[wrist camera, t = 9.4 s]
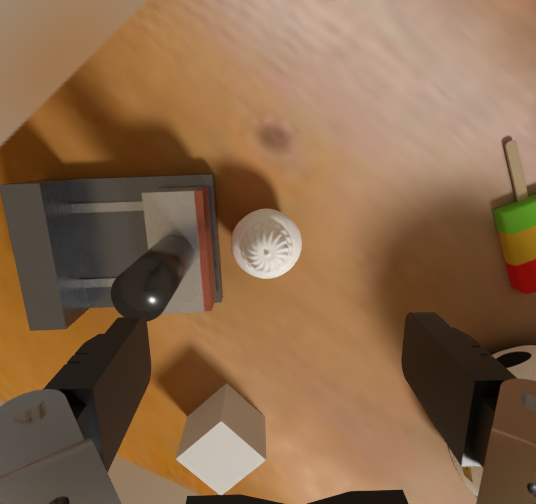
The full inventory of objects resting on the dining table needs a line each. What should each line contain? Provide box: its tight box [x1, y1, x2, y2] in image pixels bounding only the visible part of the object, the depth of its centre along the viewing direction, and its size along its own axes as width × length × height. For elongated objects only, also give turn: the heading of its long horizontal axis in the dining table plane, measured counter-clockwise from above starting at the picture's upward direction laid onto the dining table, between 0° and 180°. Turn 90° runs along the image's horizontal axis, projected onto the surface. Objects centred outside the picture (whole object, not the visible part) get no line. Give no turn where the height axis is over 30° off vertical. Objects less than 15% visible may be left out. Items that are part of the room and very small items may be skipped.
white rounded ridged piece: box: [231, 209, 302, 279], centre depth 32 cm, size 6×6×7 cm
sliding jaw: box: [111, 187, 216, 321], centre depth 27 cm, size 10×5×13 cm, turn 2°
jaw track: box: [0, 174, 223, 331], centre depth 33 cm, size 12×16×6 cm
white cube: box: [176, 383, 266, 495], centre depth 38 cm, size 6×6×6 cm
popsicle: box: [493, 140, 536, 294], centre depth 36 cm, size 6×15×2 cm, turn 22°
